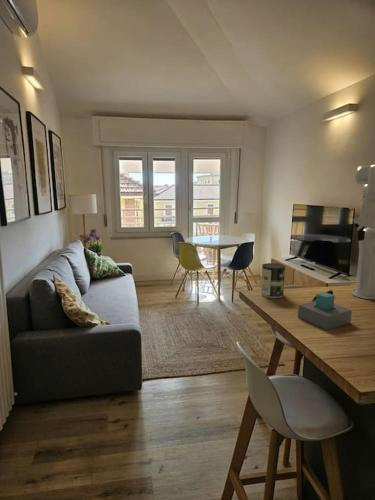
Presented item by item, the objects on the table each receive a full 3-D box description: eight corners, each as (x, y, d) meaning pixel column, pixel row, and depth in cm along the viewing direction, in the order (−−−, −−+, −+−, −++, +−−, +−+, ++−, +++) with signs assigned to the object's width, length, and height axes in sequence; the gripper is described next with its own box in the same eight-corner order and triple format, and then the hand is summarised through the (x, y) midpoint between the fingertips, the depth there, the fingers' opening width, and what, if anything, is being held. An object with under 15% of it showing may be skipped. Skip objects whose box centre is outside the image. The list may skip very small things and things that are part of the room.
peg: (314, 319, 122) (316, 293, 120) (322, 316, 124) (324, 292, 122) (324, 323, 118) (326, 297, 116) (332, 321, 120) (334, 295, 118)
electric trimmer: (335, 297, 148) (335, 290, 147) (319, 304, 138) (320, 297, 137) (327, 295, 151) (327, 288, 150) (311, 302, 140) (311, 295, 140)
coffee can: (285, 293, 152) (287, 264, 149) (280, 299, 143) (282, 269, 140) (264, 290, 157) (265, 262, 154) (258, 296, 148) (259, 266, 146)
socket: (297, 317, 123) (298, 304, 122) (321, 311, 129) (322, 299, 128) (326, 330, 112) (327, 316, 111) (350, 323, 118) (351, 310, 117)
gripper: (350, 197, 127) (346, 239, 130) (394, 198, 112) (389, 246, 115) (362, 197, 131) (358, 238, 134) (407, 198, 116) (401, 244, 119)
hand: (372, 242), depth 125 cm, fingers open, 9 cm apart
